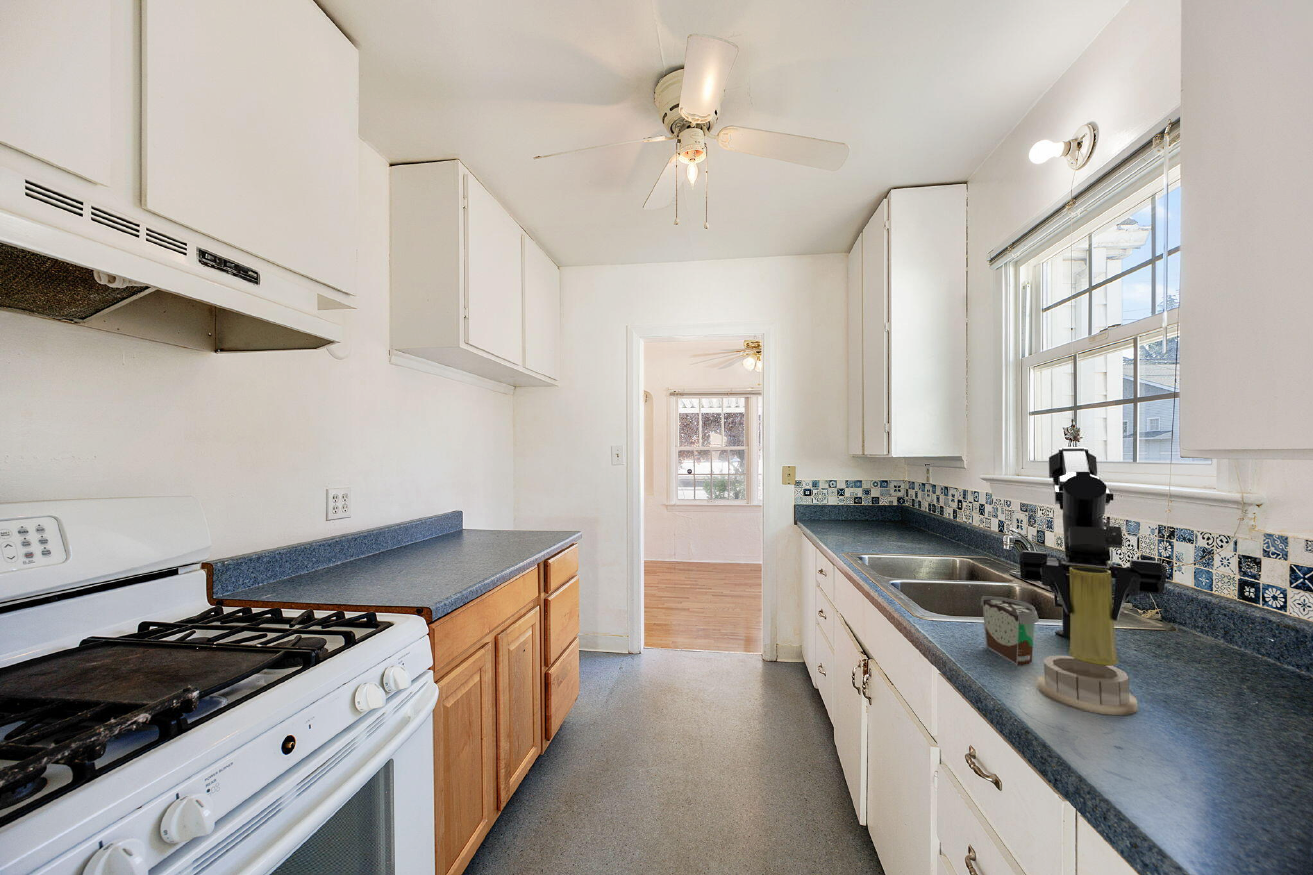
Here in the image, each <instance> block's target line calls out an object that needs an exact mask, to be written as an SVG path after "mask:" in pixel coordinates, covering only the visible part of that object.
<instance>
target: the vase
mask: <svg viewBox="0 0 1313 875" xmlns="http://www.w3.org/2000/svg"><path fill="white" fill-rule="evenodd" d="M1069 571H1070V610H1071V614H1070V624H1071V629H1070V638H1069V640H1070V642H1069V650H1068V654H1069V656H1070V657H1071V656H1072V657H1073V658H1075V659H1077V660H1080V661H1083V662H1086V663H1090V664H1096V665H1104V666H1115V665H1118V664H1119V662H1120V661H1119V659H1118V654H1117V648H1116V636H1115V635H1116V634H1115V623H1114V619H1113V583H1112V582H1113V581H1112V580H1113V579H1112V577H1111V571H1109V570H1106V569H1102V568H1096V567H1086V566H1073V567H1070V568H1069Z"/></svg>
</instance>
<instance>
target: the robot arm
mask: <svg viewBox="0 0 1313 875" xmlns="http://www.w3.org/2000/svg"><path fill="white" fill-rule="evenodd" d="M1088 448H1089V447H1088ZM1088 448H1085V447H1082V446H1081V447H1079V446H1077V447H1075V446H1074V447H1071V446H1070V447H1061V448H1058V452H1057V453H1055V454H1052V455H1050V456H1049V457H1048V478H1049V479H1052V487H1053V488H1054V503H1055V504H1056V505H1059V510H1061V511H1062V528H1063V541H1064V542H1063V545H1064V560H1063V561H1062V560H1061V559H1059V558H1055V557H1048V555H1047V553H1048V552H1047V551H1037V550H1035V551H1033V550H1022V551H1020V553H1019V571H1020V579H1022V580H1024V581H1028V582H1029V581H1030V582H1038V583H1041V585H1042V586H1044V587H1049V589H1050V590H1051V591H1052V592H1053V605H1054V606H1053V607H1055V608H1061V619H1062V620H1061V622H1062V629H1060V630H1056V631H1055V632H1054V634H1055V635H1058V636H1060V637H1064V638H1068V639H1070V629H1071V624H1070V614H1071V610H1070V571H1069V568H1070V567H1073V566H1086V567H1096V568H1102V569H1106V570H1109V571H1111V577H1112V580H1114V589H1113V590H1114V591H1113V600H1112V603H1113V619H1114V621H1115V622H1117V621H1118V620H1119V617H1120V614H1121V612H1122V609H1123V607H1124V605H1125V603H1126V602H1127V600H1128V599H1129V598H1130V597H1137V596H1139V594H1148V595H1157V596H1159V595H1162V594H1164V593H1165V592H1164V590H1165V585H1166V581H1167V578H1168V577H1167V570H1166V566H1165V565H1164V564H1163V563H1162V562H1160V561H1157V560H1155V561H1154V560H1146V559H1145V560H1143V559H1133V558H1130V561H1129V567H1121V566H1110V564H1109V562H1110V561H1111V552H1110V551H1111V550H1110V548H1112V549H1122V548H1123V545H1124V542H1123V541H1124V540H1123V538H1124V537H1123V533H1122V527H1121V526H1116V525H1115V526H1113V525H1106V526H1105V525H1104V518H1103V517H1104V516H1105V512H1106V507H1107V506H1108V505H1109V504H1110V502H1111V501H1114V500H1115V498H1114V493H1113V492H1111V491H1110V490H1109V489H1108V487H1107V484H1106V483H1104V481H1103V480H1101V478H1100V477H1099V476H1098V463H1097V461H1098V460H1097V456H1095V455H1093V454H1092V453H1090V452H1089V449H1088Z"/></svg>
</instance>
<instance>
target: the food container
mask: <svg viewBox="0 0 1313 875" xmlns="http://www.w3.org/2000/svg"><path fill="white" fill-rule="evenodd" d="M980 600H981V601H980V606H982V613H983V622H984V623H983V624H984V635H985V637H984V638H985V646H986V648H987V649H989V650H991V651H993V652H994V653H996V654H997V655H999V656H1001V657H1002V658H1004V659H1006V660H1008V661H1010V662H1011V663H1012V664H1014V665H1016V666H1026V665H1030V664H1031V663H1033V650H1034V649H1033V648H1034V633H1035V624H1036V623H1038V622H1039V619H1040V618H1039V616H1038V612H1037V610H1036V608H1035V606H1033V605H1032V604H1030V603H1028V602H1025V601H1021V600H1017V599H1012V598H1007V597H1002V596H1001V597H1000V596H989V595H988V596H987V595H982V596H981V599H980Z"/></svg>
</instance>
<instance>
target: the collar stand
mask: <svg viewBox="0 0 1313 875" xmlns="http://www.w3.org/2000/svg"><path fill="white" fill-rule="evenodd" d="M1043 673H1044V674H1043V675H1040V676H1039V677H1038V678H1037V688H1038V690H1039V692H1040V693H1041V694H1043V695H1044V696H1045V697H1047V698H1049V699H1051V700H1053V701H1055V702H1057V703H1059V704H1061V705H1065V706H1067V707H1070V708H1074V709H1077V710H1081V711H1085V712H1088V711H1089V713H1094V714H1098V713H1099V714H1100V715H1107V716H1128V715H1132V714H1135V713H1137V711H1138V701H1137V698H1136V697H1135V696H1134V695H1133V694H1131V693H1130V681H1129V680H1130V678H1129V676H1128V675H1127V673H1126V672H1125V671H1123V670H1122V669H1119V668H1117V667H1116V666H1115V665H1112V666H1104V665H1096V664H1090V663H1086V662H1083V661H1080V660H1077V659H1075V658H1073V657H1072V656H1071V655H1049V656H1048V657H1047V656H1046V657H1044V658H1043Z"/></svg>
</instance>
